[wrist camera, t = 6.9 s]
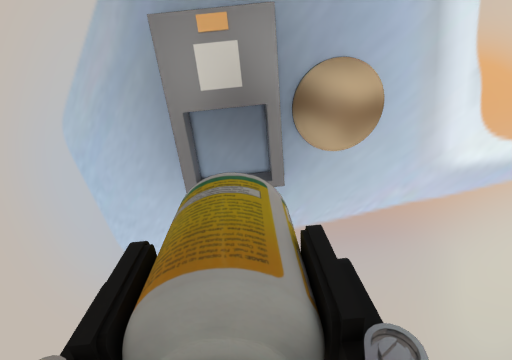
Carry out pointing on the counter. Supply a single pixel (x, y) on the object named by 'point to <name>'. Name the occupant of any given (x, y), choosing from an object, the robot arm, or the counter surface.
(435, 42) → the counter surface
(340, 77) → the cork coaster
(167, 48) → the gray rectangular fixture
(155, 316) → the supplement bottle
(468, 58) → the counter surface
